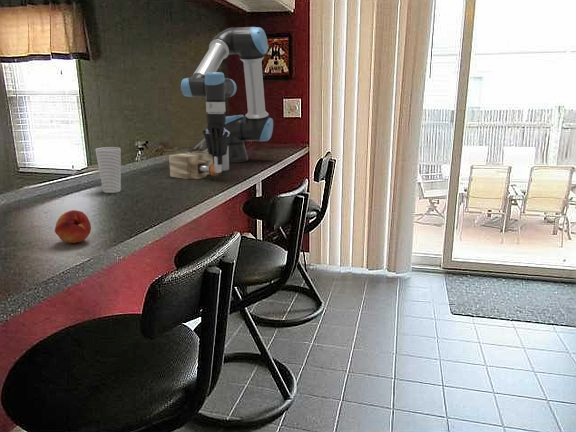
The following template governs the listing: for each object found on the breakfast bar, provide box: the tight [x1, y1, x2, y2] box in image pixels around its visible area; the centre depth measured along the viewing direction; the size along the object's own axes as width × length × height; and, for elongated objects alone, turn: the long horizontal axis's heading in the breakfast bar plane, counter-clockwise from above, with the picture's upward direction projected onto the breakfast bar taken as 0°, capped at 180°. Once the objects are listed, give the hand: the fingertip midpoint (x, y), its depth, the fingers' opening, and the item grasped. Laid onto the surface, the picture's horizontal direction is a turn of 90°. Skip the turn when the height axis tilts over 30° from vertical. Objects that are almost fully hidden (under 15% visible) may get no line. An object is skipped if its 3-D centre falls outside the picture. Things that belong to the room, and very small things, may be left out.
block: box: [168, 148, 213, 180], centre depth 200 cm, size 18×14×11 cm
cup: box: [94, 146, 122, 194], centre depth 167 cm, size 8×8×16 cm
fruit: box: [54, 209, 92, 244], centre depth 111 cm, size 8×8×8 cm
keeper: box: [191, 138, 207, 152], centre depth 204 cm, size 5×11×2 cm
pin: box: [198, 164, 221, 177], centre depth 194 cm, size 5×17×5 cm, turn 57°
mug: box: [203, 147, 230, 172], centre depth 215 cm, size 12×8×11 cm
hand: (218, 172), depth 190 cm, fingers closed
